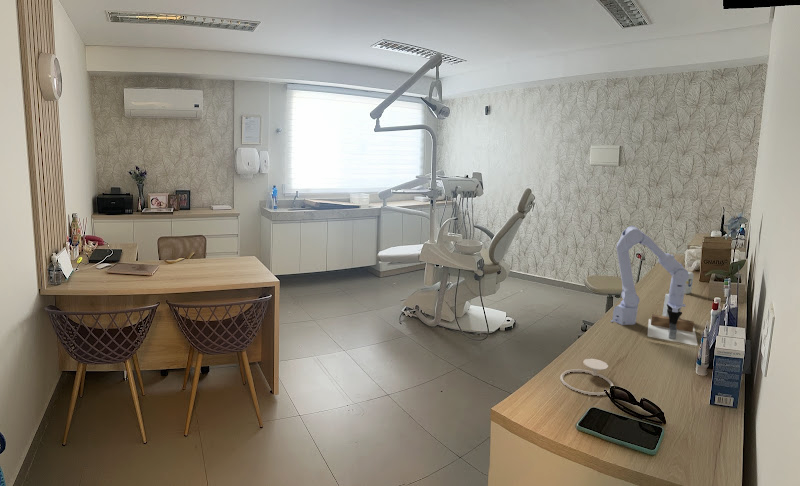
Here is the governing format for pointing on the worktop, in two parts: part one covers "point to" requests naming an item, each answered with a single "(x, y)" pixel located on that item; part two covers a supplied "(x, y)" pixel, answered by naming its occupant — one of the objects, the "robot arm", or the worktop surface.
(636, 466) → the worktop surface
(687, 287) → the ink box
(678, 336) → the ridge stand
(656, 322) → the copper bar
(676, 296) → the robot arm
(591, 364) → the hand towel holder
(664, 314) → the skincare box
